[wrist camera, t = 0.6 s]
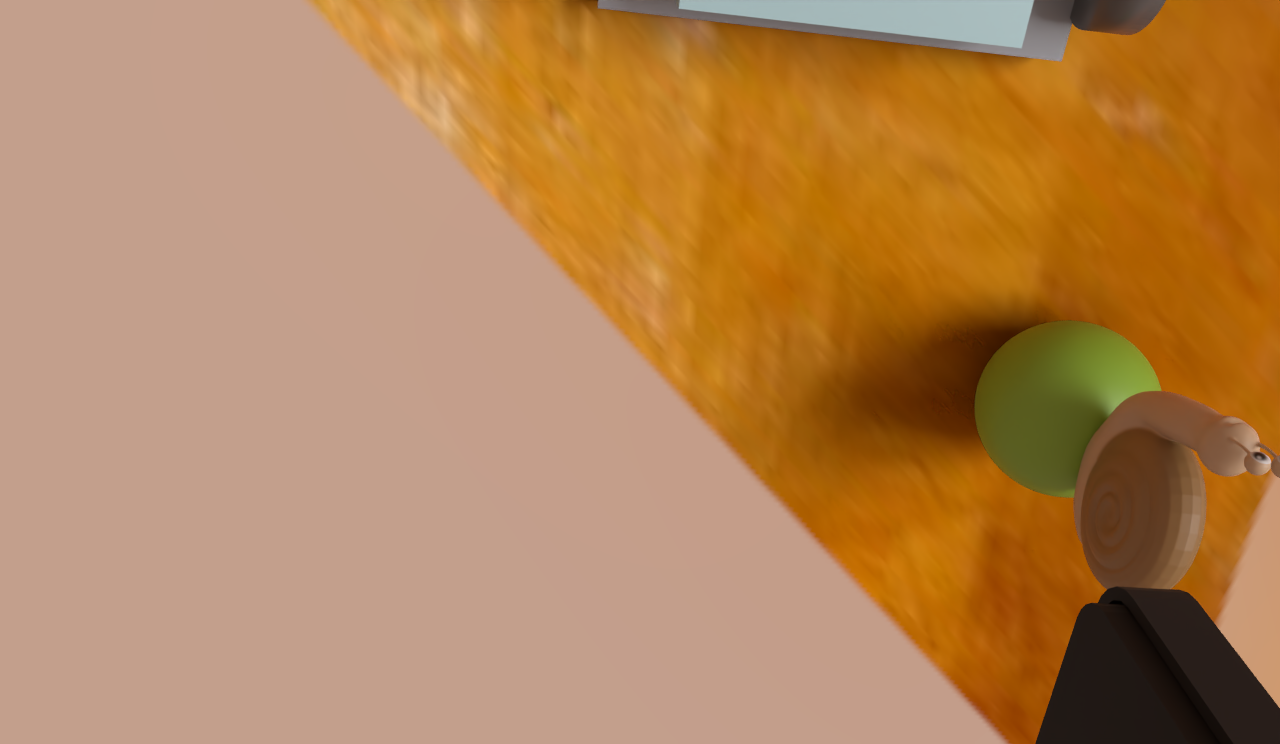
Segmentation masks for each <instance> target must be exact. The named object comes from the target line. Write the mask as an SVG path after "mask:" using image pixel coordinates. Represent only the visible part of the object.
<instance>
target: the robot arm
mask: <svg viewBox="0 0 1280 744" xmlns="http://www.w3.org/2000/svg"><path fill="white" fill-rule="evenodd" d="M1036 744H1280V708H1279V707H1278V706H1277V704H1276V703H1275V702H1274V700H1273V699H1272V698H1271V696H1270V695H1269V694H1268V693H1267V691H1266V690H1265V689H1264V687H1263V686H1262V685H1261V683H1260V682H1259V681H1258V680H1257V678H1256V677H1255V676H1254V674H1253V673H1252V672H1251V671H1250V669H1249V668H1248V667H1247V665H1246V664H1245V663H1244V661H1243V660H1242V659H1241V657H1240V656H1239V655H1238V654H1237V652H1236V651H1235V650H1234V648H1233V647H1232V646H1231V645H1230V643H1229V642H1228V641H1227V639H1226V638H1225V637H1224V635H1223V634H1222V633H1221V632H1220V630H1219V629H1218V628H1217V626H1216V625H1215V624H1214V622H1213V621H1212V620H1211V619H1210V617H1209V616H1208V615H1207V613H1206V612H1205V611H1204V609H1203V608H1202V607H1201V606H1200V604H1199V603H1198V602H1197V601H1196V600H1195V599H1194V598H1193V597H1192V596H1191V595H1190V594H1189V593H1187V592H1184V591H1181V590H1173V589H1155V588H1137V587H1119V586H1116V587H1112V588H1109V589H1107V591H1106V592H1105V593H1104V594H1103V595H1102V596H1101V598H1100V600H1099V602H1098V603H1090V604H1086V605H1085V606H1084V607H1083V608H1082V609H1081V611H1080V613H1079V615H1078V617H1077V620H1076V623H1075V626H1074V629H1073V632H1072V635H1071V638H1070V641H1069V644H1068V647H1067V650H1066V653H1065V656H1064V659H1063V662H1062V665H1061V668H1060V671H1059V674H1058V677H1057V680H1056V683H1055V686H1054V689H1053V692H1052V695H1051V698H1050V701H1049V704H1048V707H1047V710H1046V713H1045V716H1044V719H1043V722H1042V725H1041V728H1040V731H1039V734H1038V737H1037V740H1036Z"/></svg>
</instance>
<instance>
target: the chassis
mask: <svg viewBox="0 0 1280 744" xmlns="http://www.w3.org/2000/svg"><path fill="white" fill-rule="evenodd" d="M1165 1H1166V0H598V8H601V9H610V10H619V11H627V12H636V13H645V14H654V15H662V16H671V17H680V18H688V19H697V20H706V21H714V22H723V23H732V24H741V25H749V26H758V27H767V28H775V29H784V30H793V31H801V32H810V33H819V34H828V35H836V36H845V37H854V38H862V39H871V40H880V41H888V42H897V43H906V44H915V45H923V46H932V47H941V48H949V49H958V50H967V51H975V52H984V53H993V54H1002V55H1010V56H1019V57H1028V58H1036V59H1045V60H1054V61H1062V58H1063V54H1064V50H1065V47H1066V43H1067V39H1068V36H1069V32H1070V28H1071V25H1072V23H1073V24H1074V25H1075V26H1076V27H1077V28H1079V29H1081V30H1087V31H1096V32H1104V33H1113V34H1121V35H1132V34H1135V33H1137V32H1139V31H1141V30H1142V29H1143V28H1145V27H1146V26H1147V25H1148V24H1149V23H1150V22H1151V21H1152V20H1153V19H1154V17H1155V16H1156V15H1157V13H1158V12H1159V11H1160V9H1161V8H1162V6H1163V4H1164V3H1165Z"/></svg>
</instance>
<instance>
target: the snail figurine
mask: <svg viewBox="0 0 1280 744" xmlns="http://www.w3.org/2000/svg"><path fill="white" fill-rule="evenodd" d="M974 411H975V421H976V426H977V430H978V434H979V437H980V439H981V441H982V444H983V446H984V448H985V450H986V451H987V453H988V454H989V456H990V457H991V459H992V460H993V461H994V463H995V464H996V465H997V466H998V467H999V468H1000V469H1001V470H1002V471H1003V472H1004V473H1005V474H1006V475H1008V476H1009V477H1010V478H1011V479H1013V480H1014V481H1016V482H1017V483H1019V484H1021V485H1023V486H1024V487H1027V488H1029V489H1031V490H1033V491H1036V492H1039V493H1042V494H1046V495H1051V496H1057V497H1074V518H1075V525H1076V530H1077V534H1078V537H1079V539H1080V541H1081V543H1082V545H1083V550H1084V554H1085V557H1086V560H1087V563H1088V565H1089V567H1090V569H1091V571H1092V573H1093V574H1094V576H1095V577H1096V578H1097V580H1098V581H1099V582H1100V583H1101V584H1102V585H1103V586H1104V587H1105V588H1106V589H1109V588H1112V587H1116V586H1119V587H1137V588H1155V589H1171V588H1172V587H1174V586H1175V585H1176V584H1177V583H1178V582H1179V581H1180V580H1181V579H1182V578H1183V576H1184V575H1185V574H1186V572H1187V571H1188V569H1189V567H1190V566H1191V564H1192V562H1193V560H1194V558H1195V556H1196V554H1197V551H1198V549H1199V546H1200V542H1201V539H1202V535H1203V531H1204V525H1205V518H1206V492H1205V483H1204V479H1203V475H1202V471H1201V468H1200V465H1199V463H1198V461H1197V459H1196V457H1195V455H1194V453H1193V452H1192V451H1191V449H1193V450H1195V451H1197V453H1198V455H1199V457H1200V459H1201V461H1202V463H1203V464H1204V465H1205V466H1206V467H1207V468H1208V469H1209V470H1210V471H1212V472H1214V473H1216V474H1218V475H1222V476H1235V475H1239V474H1241V473H1243V472H1245V471H1248V472H1250V473H1251V474H1254V475H1262V474H1265V473H1266V472H1268V471H1269V469H1270V468H1271V469H1272V472H1273V473H1274V474H1275V475H1276V476H1277V477H1279V478H1280V456H1277V455H1276V454H1275V453H1274V452H1273V451H1272V450H1270V449H1269V448H1268V447H1266V446H1265V445H1263V444H1261V443H1260V442H1259V437H1258V435H1257V433H1256V431H1255V430H1254V429H1253V428H1252V427H1251V426H1249V425H1248V424H1247V423H1245V422H1244V421H1242V420H1241V419H1239V418H1236V417H1232V416H1223V415H1221V414H1219V413H1218V412H1217V411H1215V410H1213V409H1212V408H1210V407H1208V406H1206V405H1204V404H1201V403H1199V402H1197V401H1195V400H1192V399H1190V398H1187V397H1185V396H1182V395H1179V394H1175V393H1171V392H1165V391H1161V387H1160V384H1159V381H1158V379H1157V376H1156V374H1155V372H1154V370H1153V368H1152V366H1151V365H1150V363H1149V362H1148V360H1147V359H1146V358H1145V356H1144V355H1143V354H1142V353H1141V352H1140V351H1139V350H1138V349H1137V348H1136V347H1135V346H1134V345H1133V344H1132V343H1131V342H1129V341H1128V340H1127V339H1125V338H1124V337H1122V336H1121V335H1119V334H1118V333H1116V332H1114V331H1112V330H1110V329H1107V328H1105V327H1102V326H1099V325H1096V324H1093V323H1088V322H1082V321H1071V320H1066V321H1054V322H1048V323H1043V324H1040V325H1037V326H1034V327H1031V328H1029V329H1026V330H1024V331H1022V332H1020V333H1019V334H1017V335H1015V336H1014V337H1012V338H1011V339H1010V340H1008V341H1007V342H1006V343H1005V344H1003V345H1002V346H1001V347H1000V348H999V349H998V350H997V351H996V352H995V354H994V355H993V356H992V357H991V359H990V360H989V362H988V363H987V365H986V366H985V368H984V370H983V372H982V374H981V377H980V379H979V382H978V386H977V389H976V395H975V405H974ZM1260 447H1261V448H1263V449H1265V450H1267V451H1268V452H1269V453H1270V454H1272V455H1273V457H1274V460H1273V461H1272V463H1271V460H1270V458H1269V457H1268V456H1267V455H1266V454H1264V453H1262V452H1259V451H1260ZM1190 448H1191V449H1190Z"/></svg>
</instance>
